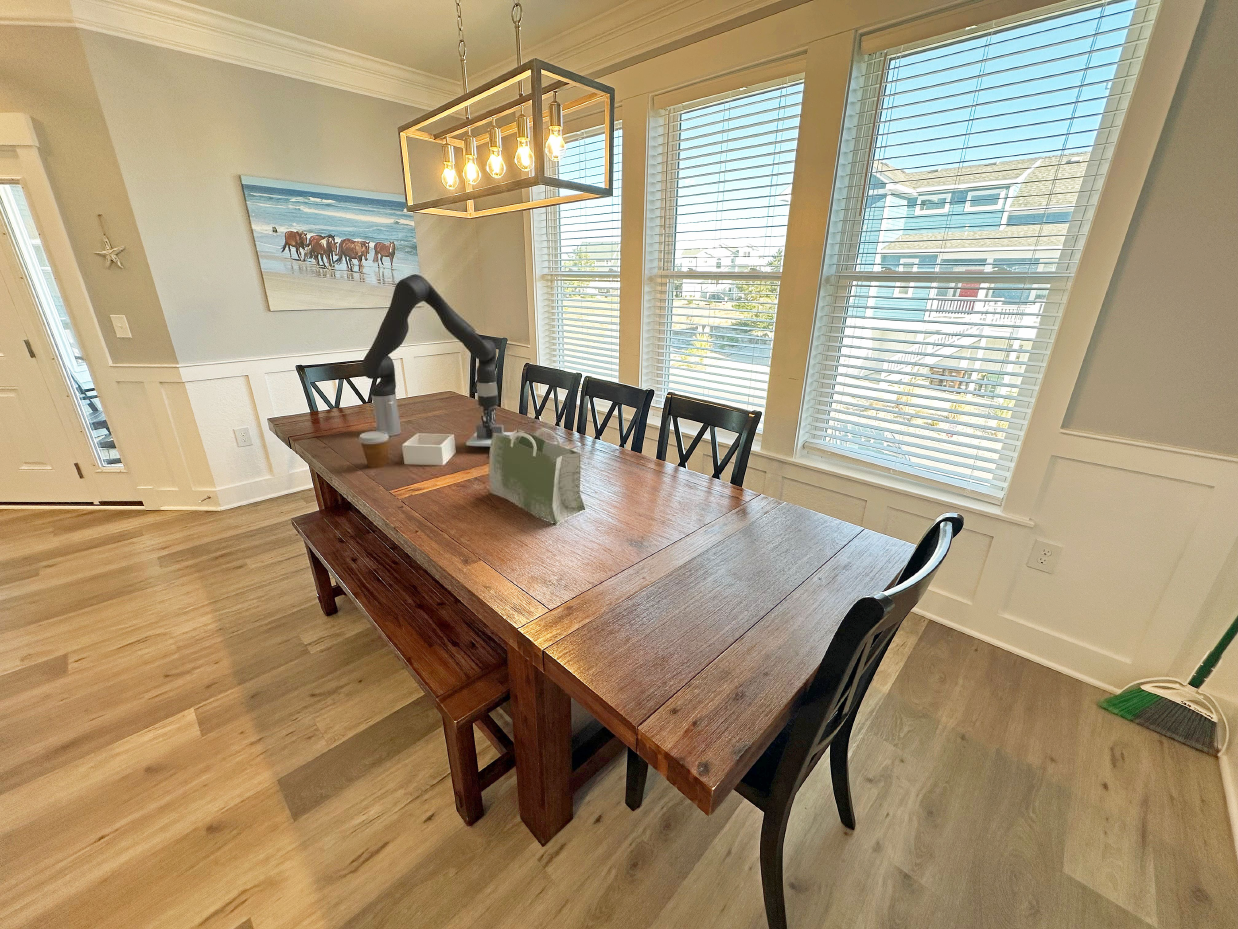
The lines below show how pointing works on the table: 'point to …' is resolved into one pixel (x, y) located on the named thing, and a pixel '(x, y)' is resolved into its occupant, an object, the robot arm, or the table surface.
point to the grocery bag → (536, 474)
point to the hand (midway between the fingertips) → (490, 435)
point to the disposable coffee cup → (375, 448)
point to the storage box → (429, 449)
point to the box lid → (480, 435)
